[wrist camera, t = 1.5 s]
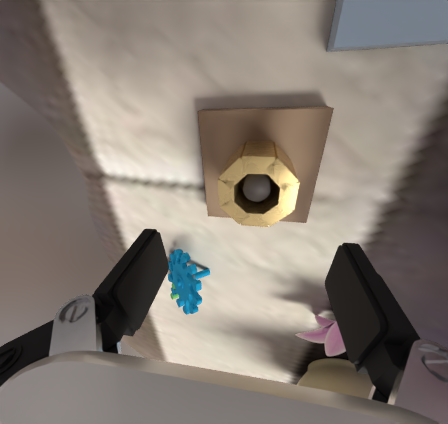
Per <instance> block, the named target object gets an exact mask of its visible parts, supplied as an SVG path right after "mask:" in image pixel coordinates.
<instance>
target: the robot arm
mask: <svg viewBox="0 0 448 424" xmlns="http://www.w3.org/2000/svg"><path fill="white" fill-rule="evenodd" d="M168 270H169V264H168V260H167V257H166V253H165V249H164V246H163V242H162V239H161V235H160V233H159V232H157V230H155V229H145V230H143V232H142V233H141V234H140V235H139V237H138V238H137V239H136V240H135V242H134V243H133V244H132V245H131V247H130V248H129V249H128V250H127V252H126V253H125V254H124V255H123V257H122V258H121V259H120V260H119V262H118V263H117V264H116V266H115V267H114V268H113V269H112V271H111V272H110V273H109V274H108V276H107V277H106V278H105V279H104V281H103V282H102V283H101V284H100V286H99V287H98V288H97V289H96V291H95V293H94V294H93V295H92V296H90V295H80V296H77V297H75V298H73V299H71V300H69V301H68V302H66V303H65V304H64V305H63V306H62V307H61V308H60V309H59V310H58V312H57V313H56V315H55V318H54V320H52V321H50V322H48V323H46V324H44V325H42V326H40V327H38V328H36V329H34V330H32V331H30V332H28V333H26V334H24V335H22V336H20V337H18V338H16V339H14V340H12V341H10V342H8V343H6V344H4V345H3V346H1V347H0V424H448V349H447V348H446V347H444V346H442V345H440V344H438V343H436V342H434V341H430V340H427V339H420V337H419V336H418V334H417V333H416V331H415V329H414V328H413V326H412V325H411V323H410V321H409V320H408V318H407V317H406V315H405V314H404V312H403V310H402V309H401V307H400V306H399V304H398V302H397V301H396V299H395V298H394V296H393V295H392V293H391V291H390V290H389V288H388V287H387V285H386V284H385V282H384V280H383V279H382V277H381V276H380V275H379V274H377V272H376V271H375V269H374V268H373V266H372V264H371V263H370V261H369V260H368V258H367V256H366V255H365V253H364V251H363V250H362V248H361V247H360V245H359V244H355V243H343V244H342V246H341V245H340V246H339V247H338V249H337V252H336V254H335V257H334V259H333V262H332V264H331V267H330V270H329V272H328V275H327V277H326V280H325V287H326V290H327V294H328V297H329V300H330V303H331V306H332V309H333V312H334V315H335V318H336V321H337V324H338V327H339V331H340V334H341V337H342V340H343V343H344V346H345V349H346V352H347V355H348V358H349V360H350V362H351V363H352V364H354V365H355V368H356V371H357V373H362V374H369V377H370V380H371V382H372V384H373V386H372V389H371V392H370V394H369V397H368V399H366V398H361V397H356V396H351V395H346V394H341V393H336V392H331V391H326V390H321V389H316V388H310V387H305V386H299V385H294V384H288V383H283V382H277V381H272V380H266V379H261V378H255V377H250V376H244V375H239V374H233V373H227V372H222V371H216V370H210V369H205V368H199V367H194V366H188V365H182V364H176V363H171V362H165V361H159V360H153V359H147V358H142V357H136V356H129V355H122V353H121V345H120V340H121V338H122V336H123V335H128V336H133V335H134V333H135V331H136V330H138V329H139V328H140V327H141V325H142V323H143V321H144V319H145V317H146V315H147V313H148V311H149V309H150V307H151V305H152V303H153V301H154V299H155V297H156V295H157V292H158V290H159V288H160V286H161V284H162V282H163V280H164V278H165V276H166V274H167V272H168Z"/></svg>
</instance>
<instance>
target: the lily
mask: <svg viewBox="0 0 448 424" xmlns="http://www.w3.org/2000/svg"><path fill="white" fill-rule="evenodd" d="M315 318H316V321H317V322H318V324H319V325H320V326H321V328H319V329H316V330H313V331H308V332H302V333H297V334H295V335H296V336H298V337H300V338H302V339H305V340H308V341H311V342H315V343H325V344H324V345H325V353H326V355H327V356H330V357H331V356H336V355H339V354H341V353H343V352H345V351H346V349H345V346H344V343H343V340H342V337H341V334H340V331H339V327H338V324H337V321H332V320H329V319H326V318H324V317H321V316H318V315H315ZM333 322H334V323H333Z"/></svg>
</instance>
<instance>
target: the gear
mask: <svg viewBox="0 0 448 424" xmlns="http://www.w3.org/2000/svg"><path fill="white" fill-rule="evenodd" d="M169 256H170V259H171V261H170V262H168V264H169V270H170V271H171V274H168V280H169V281H170V282H172V288H171V291H172V293H171V298H172V299H175V298H177V297H179V299H177V300H176V302H177V304H178V306H179V307H181V306H183V305H184V304H185V305H184V306H183V311H184V312H185V314H189V313H191V314H193V313H195V312H197V311H198V307H197V305H199V304H201V302H202V298H201V296H200V295H199V294H198V293H197V291H199V290H201V281H200V280H196V279H199V278H202V277H204V276H207V275H210V270H209V269H206V270H203V271H200V272H197V268H196V265H195V264H193V265H190V266H188V267H187V264H186V262H187V261H190V256H189V254H188V253H183V251H182V250H181V249H177V250H175V251H174V253H172V254H170V255H169Z"/></svg>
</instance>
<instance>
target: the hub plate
mask: <svg viewBox="0 0 448 424" xmlns="http://www.w3.org/2000/svg"><path fill="white" fill-rule="evenodd" d="M447 43H448V0H337V1H336V6H335V11H334V16H333V21H332V27H331V32H330V37H329V42H328V47H327V52H332V51H346V50H360V49H375V48H389V47H404V46H418V45H432V44H447Z"/></svg>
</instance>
